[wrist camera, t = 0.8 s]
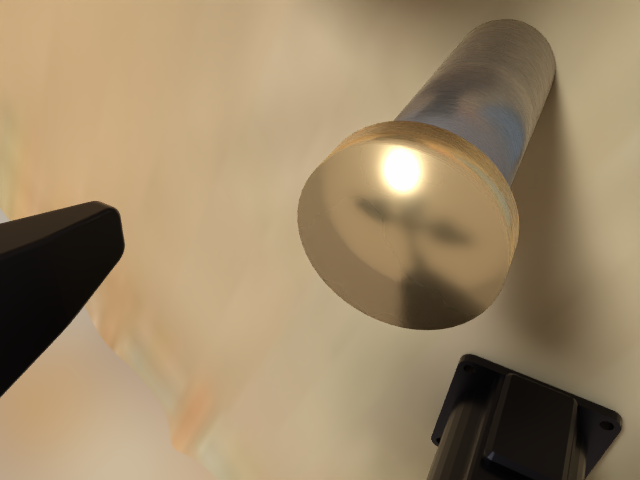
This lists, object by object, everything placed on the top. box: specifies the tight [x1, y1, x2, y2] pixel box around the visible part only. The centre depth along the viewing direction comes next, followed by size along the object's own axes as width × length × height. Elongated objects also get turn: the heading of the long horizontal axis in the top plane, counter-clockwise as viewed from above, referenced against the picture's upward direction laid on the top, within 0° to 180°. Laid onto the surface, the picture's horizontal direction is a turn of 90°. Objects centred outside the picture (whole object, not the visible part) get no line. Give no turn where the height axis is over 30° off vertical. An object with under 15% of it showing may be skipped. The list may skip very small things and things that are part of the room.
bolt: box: [298, 19, 555, 330], centre depth 14 cm, size 4×4×10 cm
